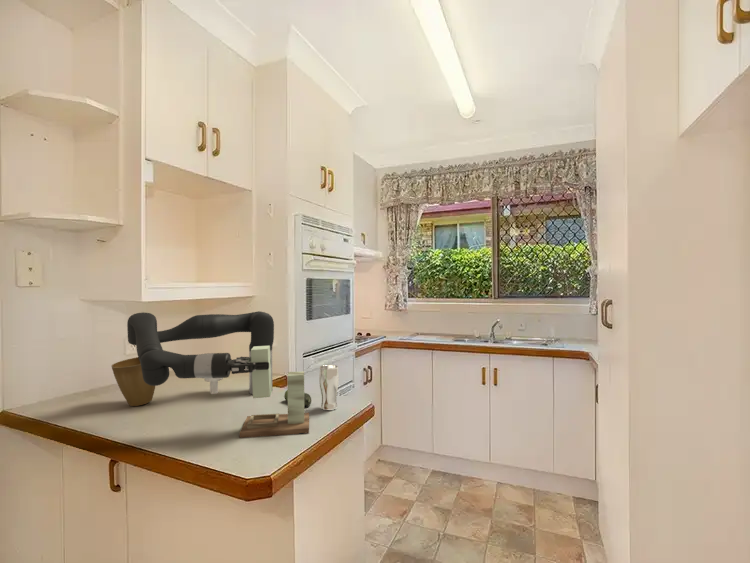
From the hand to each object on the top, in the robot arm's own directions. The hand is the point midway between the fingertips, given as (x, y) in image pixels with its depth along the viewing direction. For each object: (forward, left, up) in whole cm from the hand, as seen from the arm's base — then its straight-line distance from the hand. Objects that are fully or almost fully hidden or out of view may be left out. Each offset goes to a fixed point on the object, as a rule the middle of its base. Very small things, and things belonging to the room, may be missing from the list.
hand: (269, 363), depth 121 cm
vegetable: (-22, +8, -20) cm, 31 cm away
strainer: (-43, -27, -20) cm, 55 cm away
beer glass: (-15, +19, -20) cm, 32 cm away
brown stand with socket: (0, +2, -20) cm, 20 cm away
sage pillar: (0, -2, -10) cm, 10 cm away
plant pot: (-33, -50, -20) cm, 63 cm away
